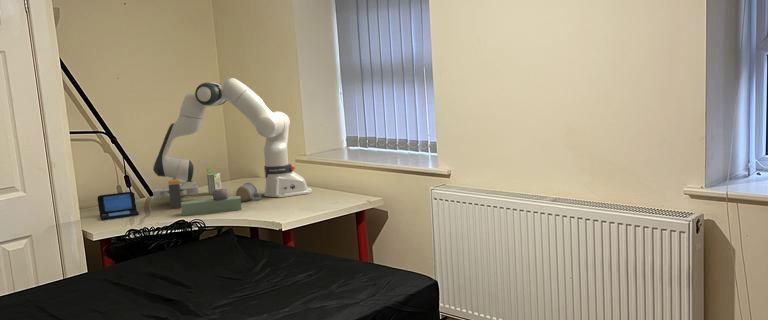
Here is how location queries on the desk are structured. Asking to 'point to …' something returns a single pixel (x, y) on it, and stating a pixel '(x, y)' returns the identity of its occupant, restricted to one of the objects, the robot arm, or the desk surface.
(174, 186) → the dark grey tall block
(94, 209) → the desk surface
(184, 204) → the green platform block
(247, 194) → the ceramic mug
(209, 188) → the ink box
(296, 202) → the desk surface
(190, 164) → the robot arm
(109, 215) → the handheld game console
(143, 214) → the desk surface
